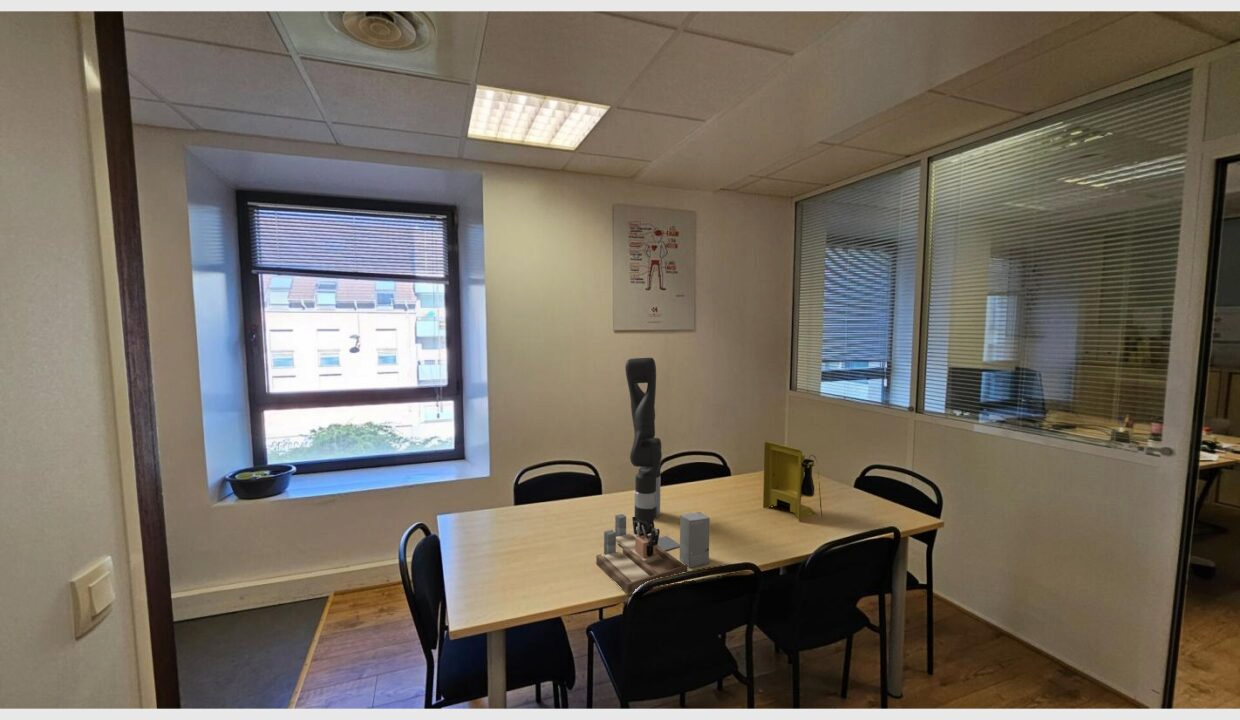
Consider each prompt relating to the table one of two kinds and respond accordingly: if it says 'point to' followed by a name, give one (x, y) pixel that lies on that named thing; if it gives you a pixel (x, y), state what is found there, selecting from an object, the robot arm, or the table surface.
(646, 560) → the strip
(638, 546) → the cube
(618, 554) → the strip
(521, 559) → the table surface
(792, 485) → the vintage telephone
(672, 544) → the pad
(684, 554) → the skincare box
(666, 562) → the lane board
